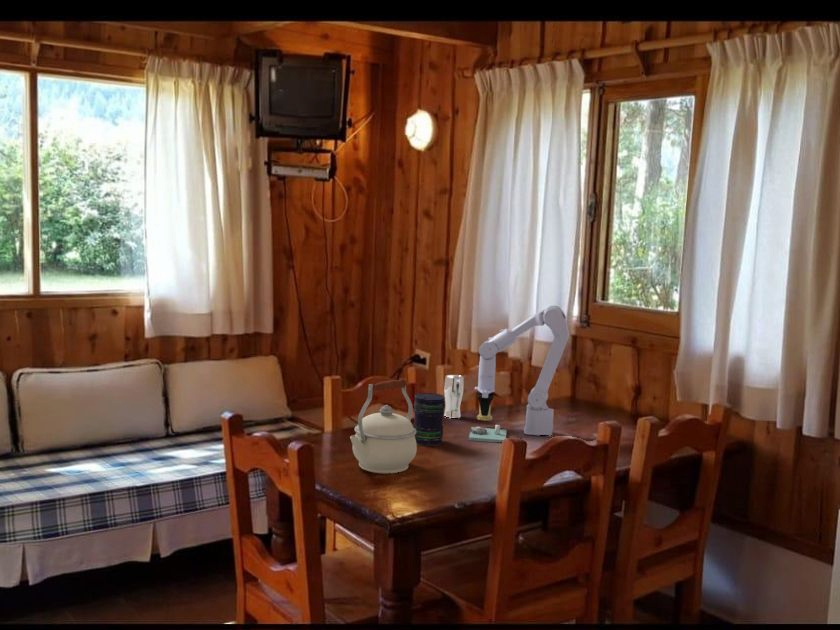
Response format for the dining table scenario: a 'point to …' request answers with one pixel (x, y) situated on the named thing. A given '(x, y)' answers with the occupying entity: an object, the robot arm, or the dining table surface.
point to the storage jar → (429, 418)
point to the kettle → (385, 435)
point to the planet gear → (484, 416)
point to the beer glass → (453, 395)
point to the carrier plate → (487, 434)
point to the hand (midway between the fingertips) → (484, 414)
